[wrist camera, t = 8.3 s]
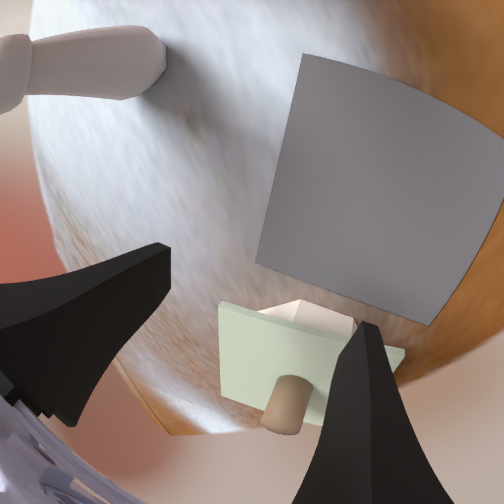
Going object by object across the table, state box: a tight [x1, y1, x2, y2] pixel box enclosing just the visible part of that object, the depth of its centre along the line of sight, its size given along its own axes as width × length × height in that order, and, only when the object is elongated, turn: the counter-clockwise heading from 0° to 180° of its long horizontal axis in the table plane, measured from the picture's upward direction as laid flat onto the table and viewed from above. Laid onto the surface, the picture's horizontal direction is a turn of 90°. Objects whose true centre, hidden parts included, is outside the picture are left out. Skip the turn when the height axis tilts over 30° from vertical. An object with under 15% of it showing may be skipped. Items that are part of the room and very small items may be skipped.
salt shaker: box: [0, 25, 167, 115], centre depth 10 cm, size 6×6×13 cm
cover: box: [218, 301, 405, 435], centre depth 19 cm, size 13×13×5 cm
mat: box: [255, 53, 504, 326], centre depth 15 cm, size 15×15×1 cm
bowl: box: [257, 299, 358, 337], centre depth 22 cm, size 11×11×4 cm
